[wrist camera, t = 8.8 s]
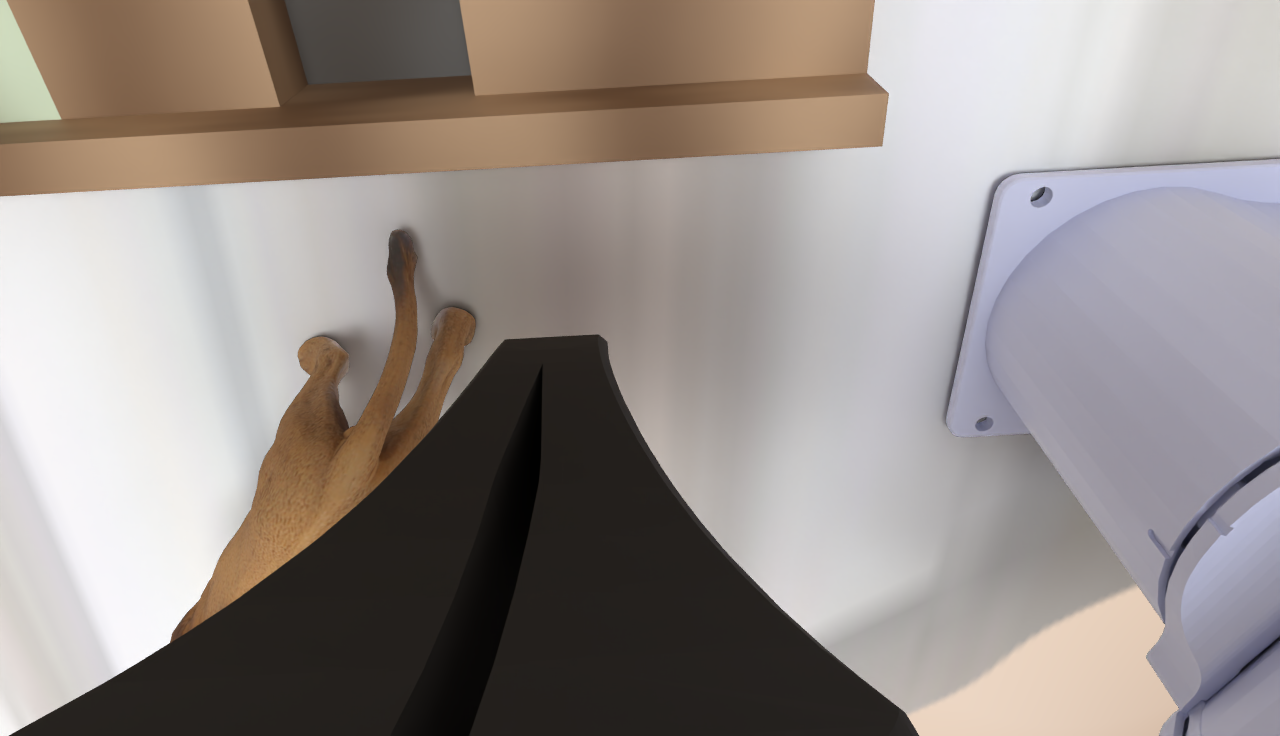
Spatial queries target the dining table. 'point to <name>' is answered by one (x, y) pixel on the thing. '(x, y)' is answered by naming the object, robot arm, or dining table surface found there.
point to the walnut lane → (417, 86)
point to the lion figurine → (337, 442)
